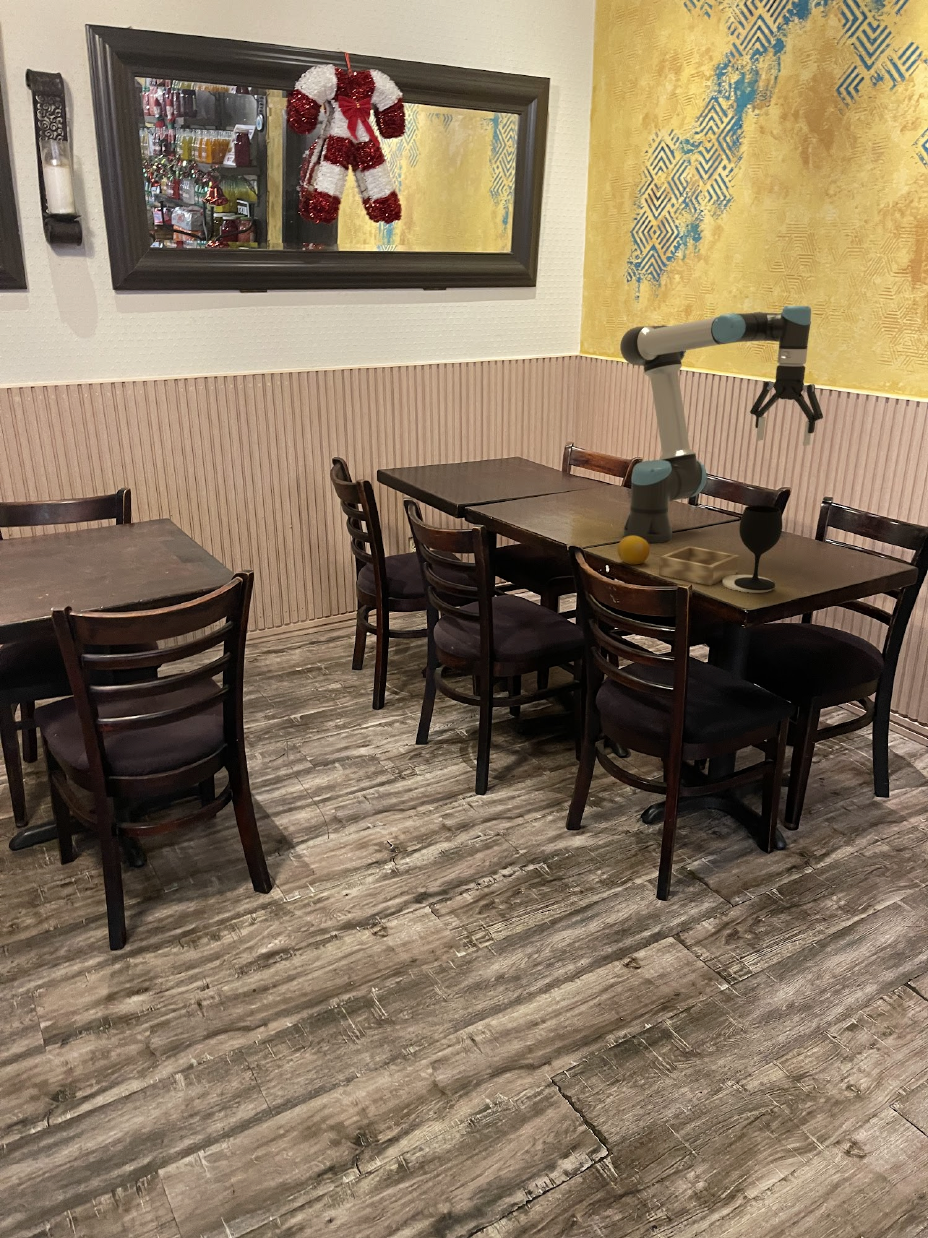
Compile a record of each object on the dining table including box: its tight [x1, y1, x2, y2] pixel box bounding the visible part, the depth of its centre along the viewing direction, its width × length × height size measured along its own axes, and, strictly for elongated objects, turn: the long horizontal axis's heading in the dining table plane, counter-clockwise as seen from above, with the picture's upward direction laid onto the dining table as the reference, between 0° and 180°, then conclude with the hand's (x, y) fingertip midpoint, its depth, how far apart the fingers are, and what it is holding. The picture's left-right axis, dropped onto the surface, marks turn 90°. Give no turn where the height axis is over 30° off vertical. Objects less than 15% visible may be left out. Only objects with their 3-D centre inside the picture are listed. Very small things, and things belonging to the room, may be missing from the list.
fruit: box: [617, 536, 651, 565], centre depth 268 cm, size 9×8×8 cm
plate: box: [721, 574, 774, 594], centre depth 249 cm, size 13×13×1 cm
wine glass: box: [734, 504, 783, 590], centre depth 243 cm, size 10×10×20 cm
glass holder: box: [658, 545, 740, 586], centre depth 259 cm, size 15×15×5 cm
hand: (782, 442), depth 268 cm, fingers open, 13 cm apart
